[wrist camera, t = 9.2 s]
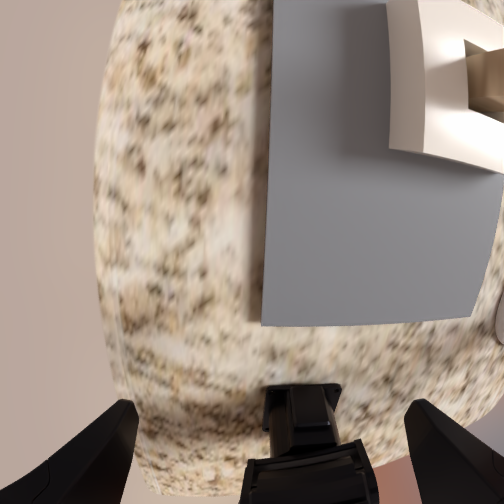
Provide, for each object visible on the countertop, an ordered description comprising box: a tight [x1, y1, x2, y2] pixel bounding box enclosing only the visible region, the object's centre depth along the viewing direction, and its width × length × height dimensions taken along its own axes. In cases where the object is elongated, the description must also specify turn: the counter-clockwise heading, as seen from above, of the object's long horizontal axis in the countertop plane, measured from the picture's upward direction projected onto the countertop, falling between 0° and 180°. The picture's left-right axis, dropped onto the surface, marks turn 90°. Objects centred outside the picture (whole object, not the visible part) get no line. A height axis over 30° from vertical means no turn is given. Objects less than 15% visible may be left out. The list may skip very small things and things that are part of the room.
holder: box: [386, 0, 504, 175], centre depth 12 cm, size 10×10×4 cm
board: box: [261, 0, 504, 327], centre depth 16 cm, size 24×18×1 cm
